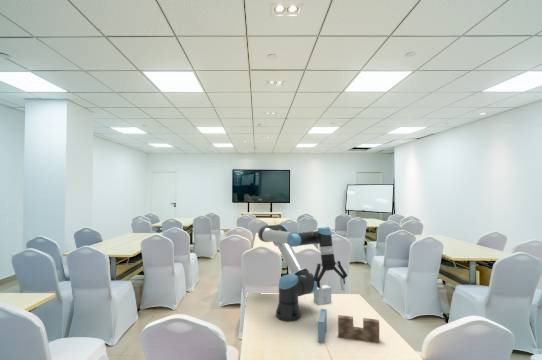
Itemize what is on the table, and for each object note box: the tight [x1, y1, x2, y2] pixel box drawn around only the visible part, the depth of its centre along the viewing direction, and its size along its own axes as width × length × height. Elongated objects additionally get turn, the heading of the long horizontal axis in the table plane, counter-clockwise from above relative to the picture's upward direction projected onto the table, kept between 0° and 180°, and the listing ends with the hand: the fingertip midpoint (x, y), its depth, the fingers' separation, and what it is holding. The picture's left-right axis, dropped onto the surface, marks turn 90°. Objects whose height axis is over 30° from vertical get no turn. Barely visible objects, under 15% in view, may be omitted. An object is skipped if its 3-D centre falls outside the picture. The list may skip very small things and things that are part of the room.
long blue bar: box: [317, 308, 328, 344], centre depth 146 cm, size 3×16×10 cm, turn 165°
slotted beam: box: [337, 314, 380, 344], centre depth 143 cm, size 20×3×10 cm, turn 74°
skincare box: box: [313, 284, 332, 306], centre depth 190 cm, size 10×6×10 cm, turn 113°
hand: (332, 292), depth 158 cm, fingers open, 13 cm apart
